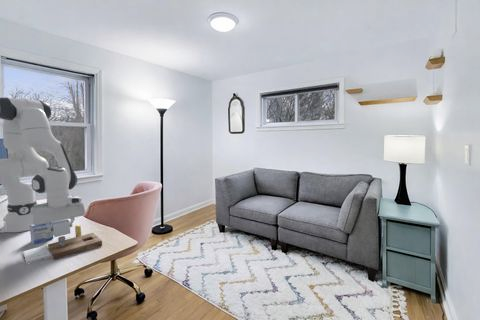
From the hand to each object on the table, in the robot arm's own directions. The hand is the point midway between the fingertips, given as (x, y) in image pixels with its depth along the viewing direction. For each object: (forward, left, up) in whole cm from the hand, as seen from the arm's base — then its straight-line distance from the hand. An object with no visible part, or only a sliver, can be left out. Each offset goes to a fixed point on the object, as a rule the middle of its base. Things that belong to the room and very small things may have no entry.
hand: (61, 229), depth 115 cm
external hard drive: (+8, -10, -7) cm, 15 cm away
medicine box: (-9, -6, -7) cm, 13 cm away
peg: (0, +7, -6) cm, 9 cm away
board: (+12, +3, -6) cm, 14 cm away
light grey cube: (0, 0, -2) cm, 2 cm away
